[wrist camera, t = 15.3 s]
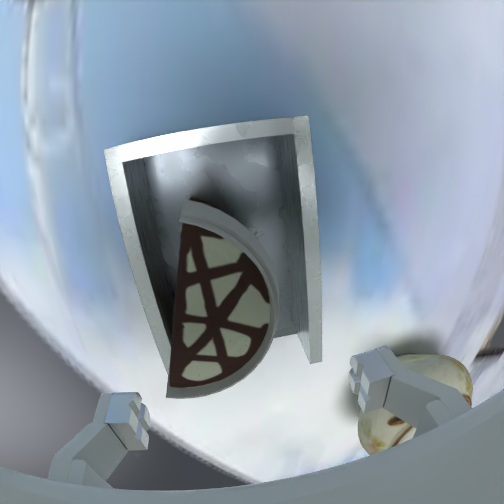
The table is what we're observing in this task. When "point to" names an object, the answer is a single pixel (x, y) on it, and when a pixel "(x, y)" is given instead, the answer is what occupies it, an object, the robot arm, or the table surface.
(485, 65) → the table surface
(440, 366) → the sugar bowl
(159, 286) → the bracket cradle
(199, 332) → the food container
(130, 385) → the table surface
